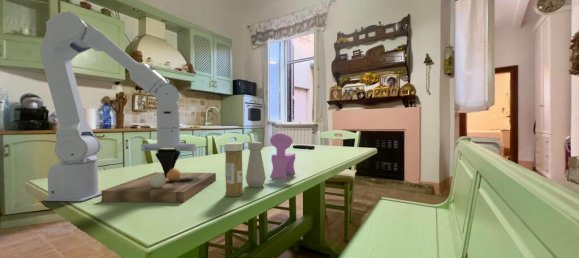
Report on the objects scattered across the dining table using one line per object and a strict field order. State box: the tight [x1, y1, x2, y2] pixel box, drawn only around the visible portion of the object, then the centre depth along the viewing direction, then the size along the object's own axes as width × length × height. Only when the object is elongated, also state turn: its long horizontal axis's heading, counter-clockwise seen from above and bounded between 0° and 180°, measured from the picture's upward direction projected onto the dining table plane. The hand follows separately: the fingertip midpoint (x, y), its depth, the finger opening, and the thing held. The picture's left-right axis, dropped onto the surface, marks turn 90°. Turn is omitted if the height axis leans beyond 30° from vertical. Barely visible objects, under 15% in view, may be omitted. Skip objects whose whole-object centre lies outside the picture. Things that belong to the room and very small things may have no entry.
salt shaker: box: [245, 141, 267, 188], centre depth 74 cm, size 6×6×13 cm
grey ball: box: [150, 174, 166, 188], centre depth 62 cm, size 4×4×4 cm
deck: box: [101, 171, 217, 203], centre depth 71 cm, size 20×22×2 cm
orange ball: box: [167, 167, 181, 181], centre depth 71 cm, size 4×4×4 cm
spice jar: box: [224, 141, 244, 197], centre depth 66 cm, size 5×5×14 cm
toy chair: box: [269, 132, 296, 180], centre depth 89 cm, size 8×9×15 cm
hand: (169, 176), depth 71 cm, fingers closed, pressing on orange ball
